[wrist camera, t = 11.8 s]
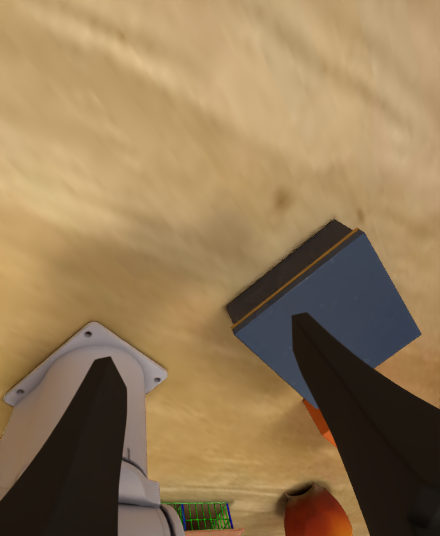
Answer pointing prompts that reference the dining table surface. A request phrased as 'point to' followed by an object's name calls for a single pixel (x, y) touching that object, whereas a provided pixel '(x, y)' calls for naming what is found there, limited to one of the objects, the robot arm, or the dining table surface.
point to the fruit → (315, 515)
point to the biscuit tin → (324, 304)
